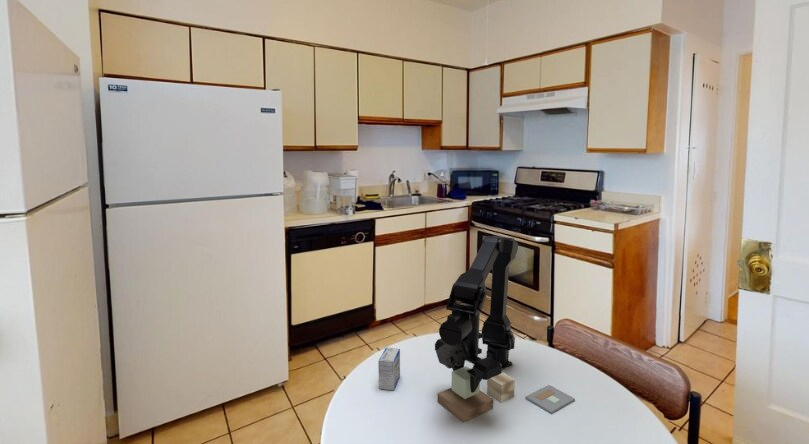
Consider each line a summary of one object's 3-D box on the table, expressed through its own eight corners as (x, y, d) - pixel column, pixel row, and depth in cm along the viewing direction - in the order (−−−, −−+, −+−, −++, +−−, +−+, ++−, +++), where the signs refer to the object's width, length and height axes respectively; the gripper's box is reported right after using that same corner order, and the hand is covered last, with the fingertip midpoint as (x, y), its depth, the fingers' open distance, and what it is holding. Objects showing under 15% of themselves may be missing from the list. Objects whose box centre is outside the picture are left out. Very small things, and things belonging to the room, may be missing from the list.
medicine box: (394, 391, 114) (394, 361, 113) (378, 389, 115) (378, 359, 114) (400, 376, 122) (400, 348, 120) (385, 374, 123) (385, 346, 121)
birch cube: (499, 387, 116) (500, 371, 115) (513, 396, 112) (514, 379, 111) (486, 393, 113) (487, 376, 112) (501, 402, 109) (501, 385, 108)
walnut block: (465, 391, 115) (466, 381, 114) (493, 409, 107) (493, 399, 106) (437, 403, 109) (437, 393, 109) (463, 424, 101) (464, 412, 101)
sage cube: (465, 383, 111) (466, 365, 110) (479, 392, 107) (480, 374, 106) (451, 389, 108) (451, 371, 107) (464, 399, 104) (465, 380, 103)
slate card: (548, 386, 117) (548, 384, 116) (574, 400, 110) (575, 398, 110) (525, 398, 111) (525, 396, 111) (551, 414, 104) (551, 411, 104)
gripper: (418, 324, 107) (418, 380, 110) (470, 353, 92) (468, 417, 95) (451, 314, 114) (450, 368, 116) (504, 340, 99) (501, 400, 101)
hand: (465, 387), depth 107 cm, fingers closed on sage cube, 5 cm apart
